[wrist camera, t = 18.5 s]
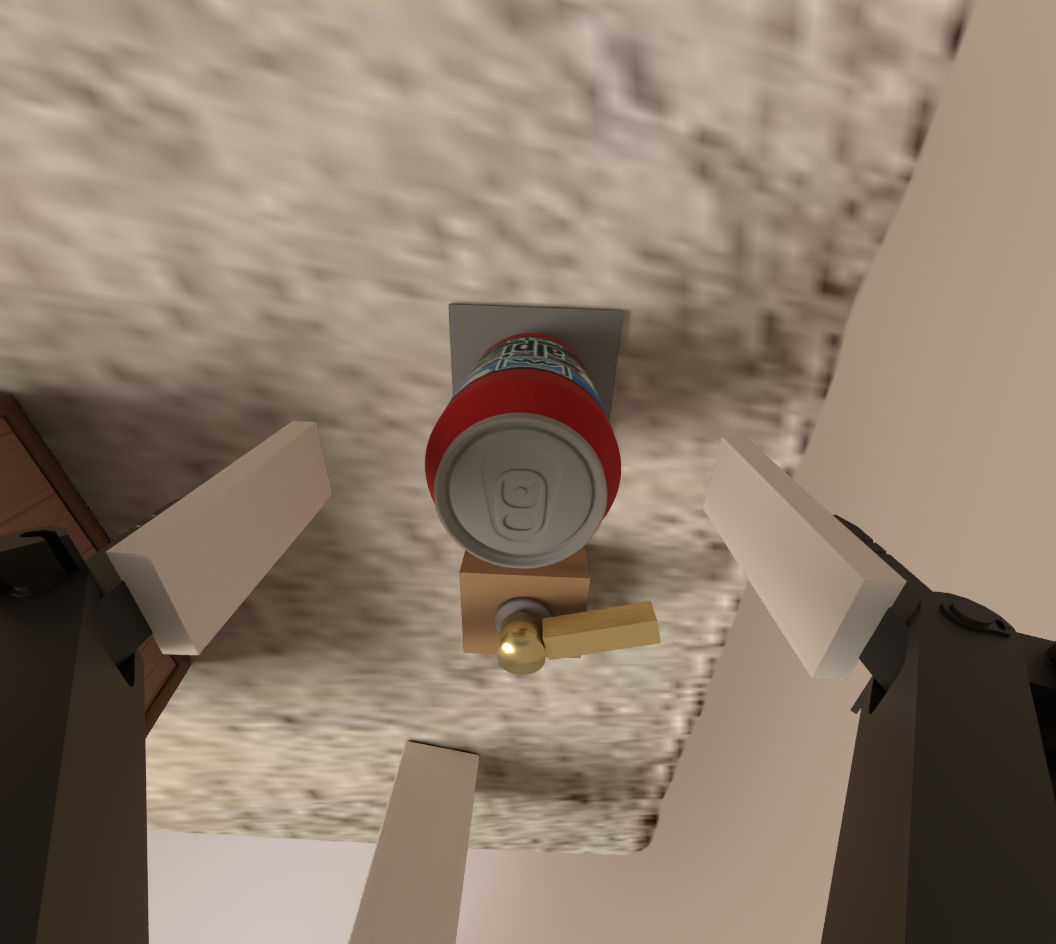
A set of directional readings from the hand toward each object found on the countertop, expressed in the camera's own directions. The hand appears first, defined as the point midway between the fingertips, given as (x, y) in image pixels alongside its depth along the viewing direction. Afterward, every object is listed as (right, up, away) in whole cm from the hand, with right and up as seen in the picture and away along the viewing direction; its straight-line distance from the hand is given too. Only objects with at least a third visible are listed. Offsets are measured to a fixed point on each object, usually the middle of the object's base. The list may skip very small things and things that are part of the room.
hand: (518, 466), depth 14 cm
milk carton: (-9, -29, +27) cm, 41 cm away
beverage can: (0, +4, +10) cm, 11 cm away
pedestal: (0, -8, +16) cm, 18 cm away
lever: (+3, -9, +12) cm, 15 cm away
